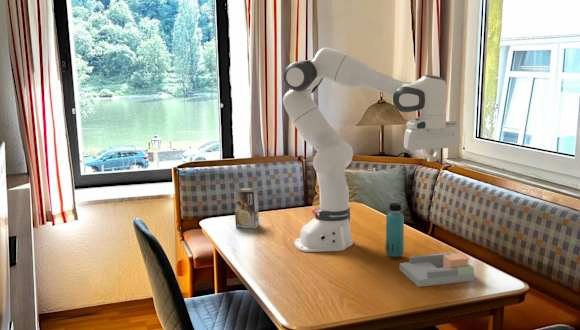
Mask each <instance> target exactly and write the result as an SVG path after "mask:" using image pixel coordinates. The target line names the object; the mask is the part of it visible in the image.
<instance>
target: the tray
mask: <svg viewBox="0 0 580 330" xmlns="http://www.w3.org/2000/svg"><path fill="white" fill-rule="evenodd" d="M450 254H454V252H442V253H441V252H439V253H431V254H430V253H429V254H421V255H412V256H409V258H408V260H409V261H407V262H406V261H405V262H400V263H399V271H400V272H401V273H403V275H405V276H406V277H407V278H408V279H409V280H410V281H412V282H413V283H414V284H415V285H416V286H417V287H419V288H420V287H428V286H430V287H431V286H438V285H439V286H440V285H447V284H456V283H462V282H463V283H464V282H473V281H474V279H475V278H474V277H475V267H474V266H473V265H471V264H470V263H468V266H466V267H457V268H448V269H443V255H450Z"/></svg>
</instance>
